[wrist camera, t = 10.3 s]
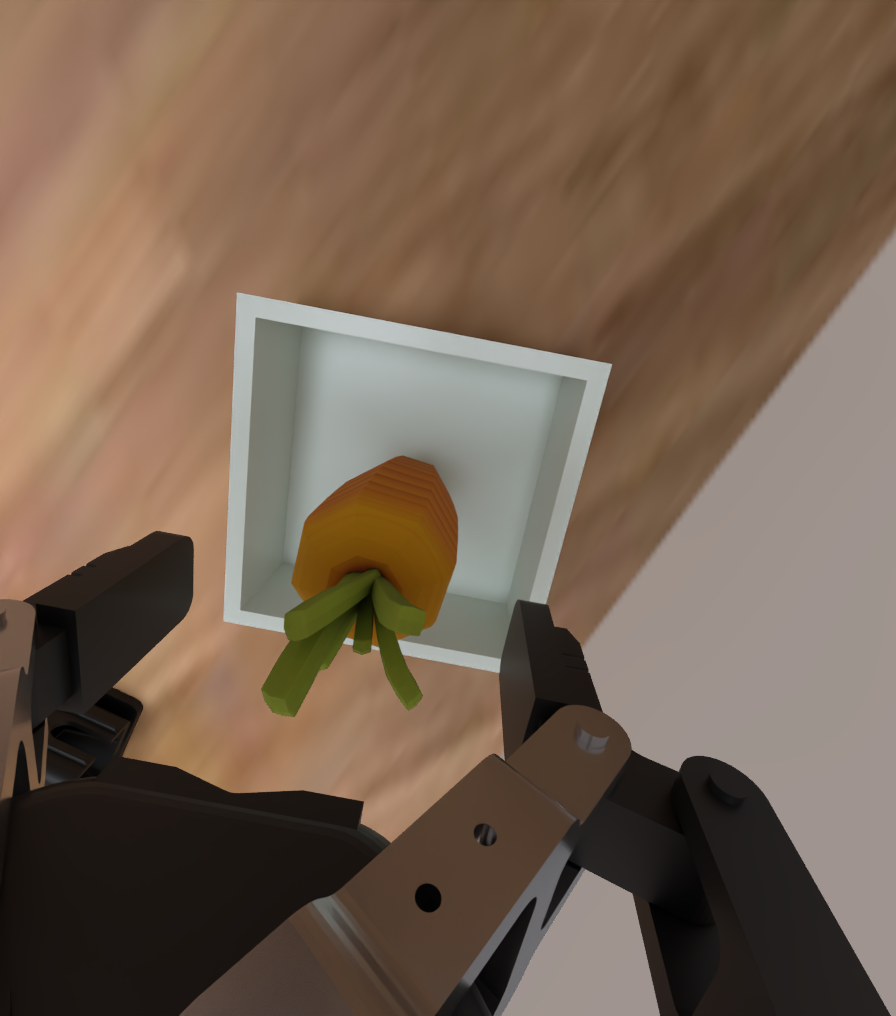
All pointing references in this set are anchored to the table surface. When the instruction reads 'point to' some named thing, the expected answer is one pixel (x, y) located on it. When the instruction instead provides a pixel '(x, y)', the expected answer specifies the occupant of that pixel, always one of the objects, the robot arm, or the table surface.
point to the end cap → (89, 737)
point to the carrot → (368, 577)
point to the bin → (412, 433)
